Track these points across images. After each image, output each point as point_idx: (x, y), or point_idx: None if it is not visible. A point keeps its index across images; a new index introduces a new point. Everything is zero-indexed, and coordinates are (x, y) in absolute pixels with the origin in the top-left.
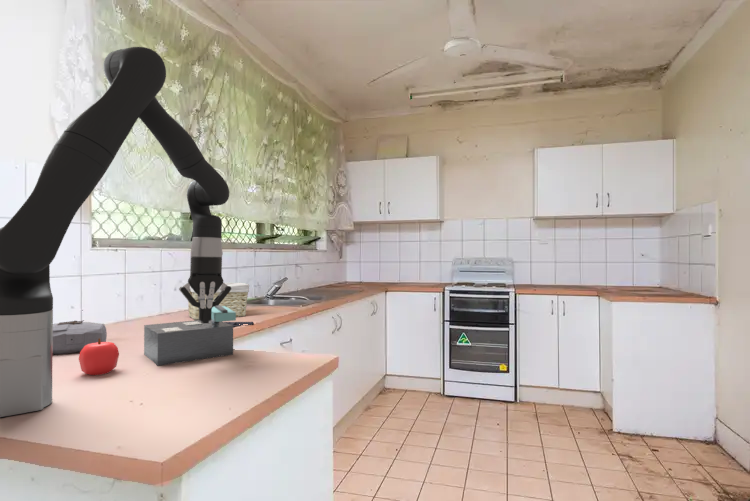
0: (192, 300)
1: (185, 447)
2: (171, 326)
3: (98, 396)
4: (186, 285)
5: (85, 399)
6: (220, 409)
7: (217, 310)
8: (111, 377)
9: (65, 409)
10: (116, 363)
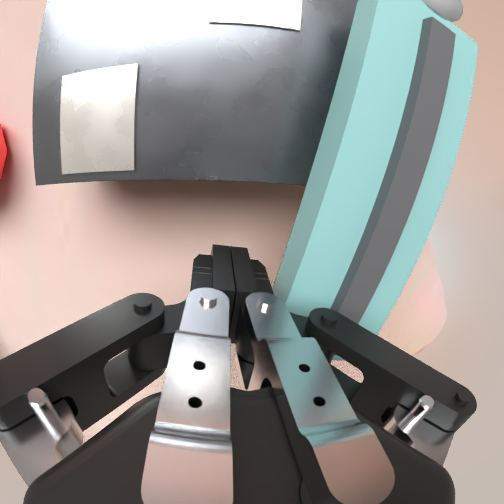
0: (119, 384)
1: None
2: (133, 2)
3: (18, 322)
4: (35, 471)
5: (8, 323)
6: None
7: (359, 216)
8: (8, 214)
9: (4, 343)
10: (2, 157)
